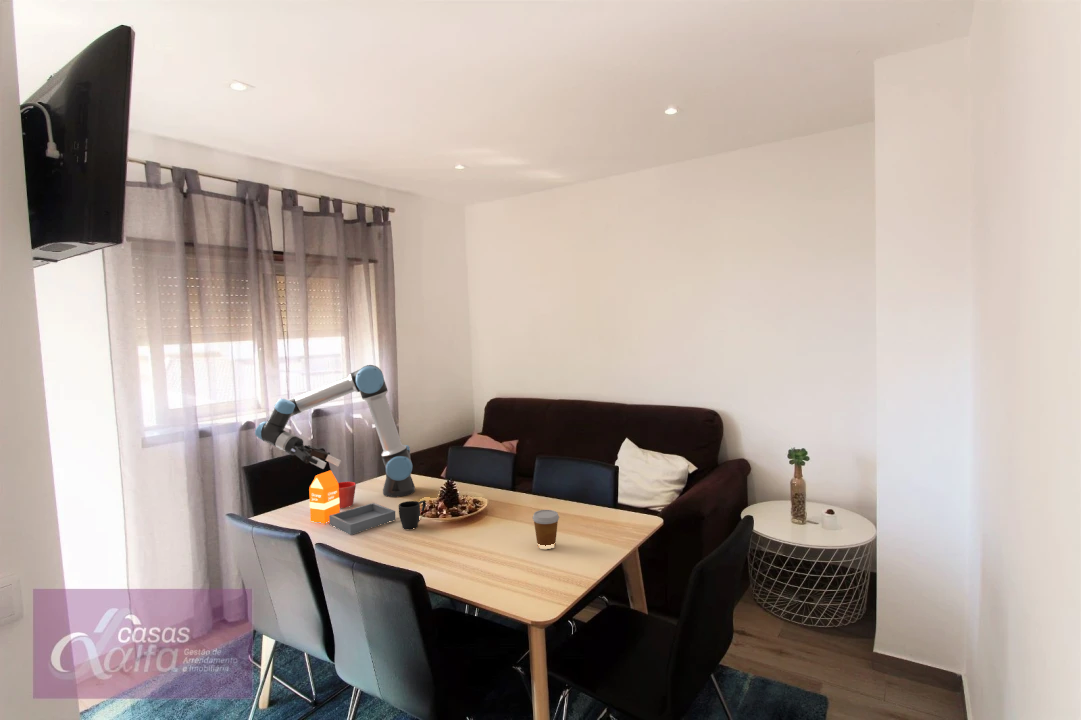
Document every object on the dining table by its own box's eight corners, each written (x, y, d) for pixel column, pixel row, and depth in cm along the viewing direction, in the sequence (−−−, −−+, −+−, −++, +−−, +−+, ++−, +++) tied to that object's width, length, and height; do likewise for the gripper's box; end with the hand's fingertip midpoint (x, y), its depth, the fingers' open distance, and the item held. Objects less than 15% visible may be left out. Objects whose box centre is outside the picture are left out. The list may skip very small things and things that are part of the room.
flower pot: (347, 500, 246) (346, 480, 245) (361, 504, 239) (360, 483, 239) (326, 506, 237) (325, 485, 236) (340, 511, 231) (339, 489, 230)
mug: (432, 523, 213) (431, 500, 212) (408, 533, 203) (407, 508, 203) (419, 519, 218) (418, 497, 217) (395, 528, 209) (394, 504, 208)
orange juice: (310, 522, 218) (308, 474, 217) (326, 515, 226) (324, 469, 225) (325, 524, 215) (323, 476, 214) (340, 517, 223) (338, 470, 222)
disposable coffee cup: (540, 554, 181) (540, 520, 181) (528, 544, 190) (527, 512, 189) (564, 548, 186) (564, 515, 185) (551, 539, 194) (551, 507, 193)
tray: (373, 511, 229) (373, 502, 229) (395, 520, 218) (395, 510, 217) (329, 525, 214) (329, 515, 214) (350, 535, 203) (350, 524, 202)
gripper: (301, 450, 237) (341, 470, 235) (269, 453, 212) (313, 475, 210) (309, 435, 238) (349, 455, 235) (277, 436, 213) (322, 458, 211)
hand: (332, 464), depth 223 cm, fingers open, 13 cm apart
